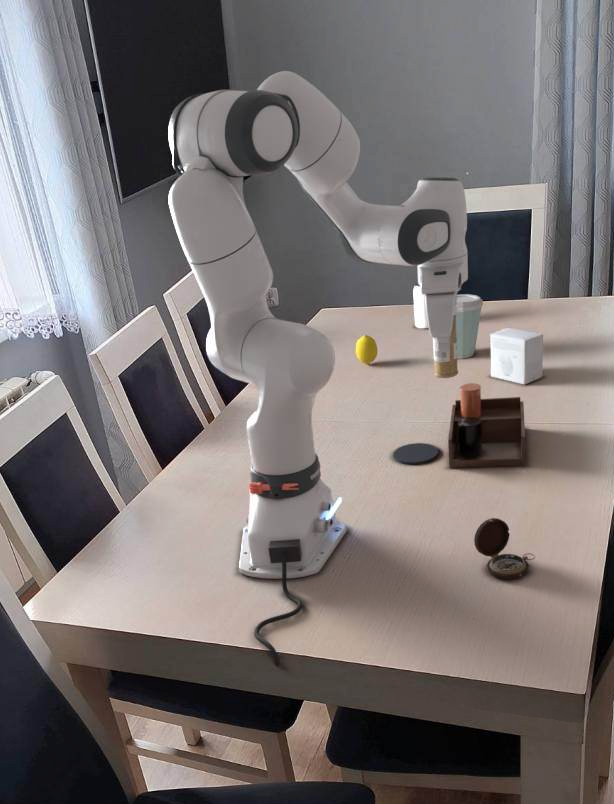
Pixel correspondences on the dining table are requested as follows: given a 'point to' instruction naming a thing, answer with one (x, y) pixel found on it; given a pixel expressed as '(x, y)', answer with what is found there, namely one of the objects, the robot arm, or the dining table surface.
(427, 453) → the coaster
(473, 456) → the black spice tin
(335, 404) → the dining table surface
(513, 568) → the compass
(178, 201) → the robot arm
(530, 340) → the cosmetics box
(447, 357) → the sprinkles bottle
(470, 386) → the terracotta spice jar
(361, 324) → the dining table surface
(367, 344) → the lemon
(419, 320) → the can
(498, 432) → the spice rack
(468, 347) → the disposable coffee cup
